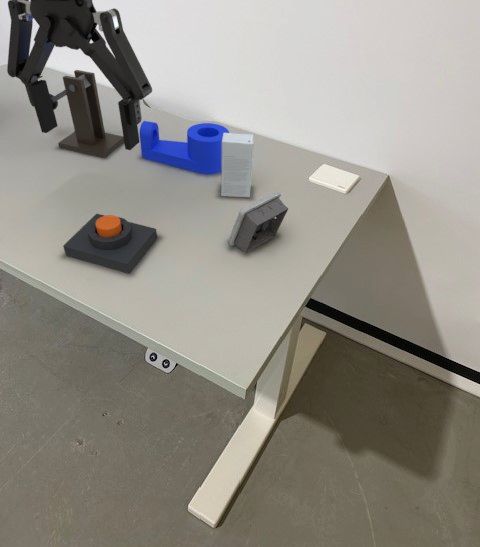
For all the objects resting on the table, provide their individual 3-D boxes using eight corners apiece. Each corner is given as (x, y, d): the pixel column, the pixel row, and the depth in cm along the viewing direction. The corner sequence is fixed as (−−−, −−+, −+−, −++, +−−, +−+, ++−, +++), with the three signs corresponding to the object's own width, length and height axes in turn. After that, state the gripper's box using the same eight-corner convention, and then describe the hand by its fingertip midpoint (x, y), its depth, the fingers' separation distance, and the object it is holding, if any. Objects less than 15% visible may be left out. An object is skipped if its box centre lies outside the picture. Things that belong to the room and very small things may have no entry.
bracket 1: (59, 147, 97) (40, 76, 87) (81, 132, 104) (67, 64, 93) (104, 158, 95) (91, 86, 84) (125, 141, 101) (114, 72, 91)
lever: (44, 115, 96) (34, 100, 94) (54, 109, 99) (44, 94, 97) (84, 92, 89) (74, 75, 87) (94, 86, 91) (84, 70, 89)
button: (92, 234, 70) (90, 226, 68) (105, 221, 72) (103, 212, 71) (113, 240, 69) (112, 231, 68) (126, 226, 72) (124, 218, 70)
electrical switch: (263, 225, 80) (271, 184, 73) (282, 240, 78) (293, 200, 71) (227, 245, 75) (232, 204, 68) (246, 262, 73) (254, 221, 66)
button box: (65, 255, 71) (60, 237, 68) (98, 223, 78) (94, 204, 75) (129, 273, 68) (126, 255, 66) (157, 238, 75) (155, 220, 73)
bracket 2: (232, 158, 98) (233, 126, 93) (221, 177, 92) (222, 144, 86) (153, 144, 101) (150, 113, 96) (138, 162, 94) (134, 130, 89)
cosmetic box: (250, 187, 89) (254, 133, 81) (249, 198, 86) (254, 143, 78) (221, 185, 89) (223, 131, 81) (220, 196, 86) (221, 141, 78)
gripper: (-69, -54, 46) (-1, 132, 60) (136, -32, 41) (157, 165, 55) (-17, -60, 51) (34, 113, 66) (170, -41, 46) (180, 141, 60)
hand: (90, 137), depth 60 cm, fingers open, 13 cm apart
